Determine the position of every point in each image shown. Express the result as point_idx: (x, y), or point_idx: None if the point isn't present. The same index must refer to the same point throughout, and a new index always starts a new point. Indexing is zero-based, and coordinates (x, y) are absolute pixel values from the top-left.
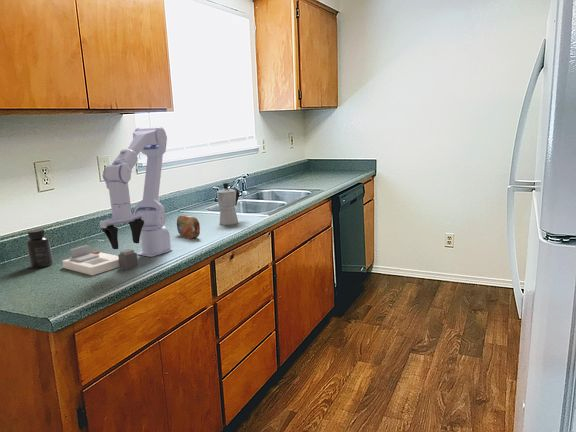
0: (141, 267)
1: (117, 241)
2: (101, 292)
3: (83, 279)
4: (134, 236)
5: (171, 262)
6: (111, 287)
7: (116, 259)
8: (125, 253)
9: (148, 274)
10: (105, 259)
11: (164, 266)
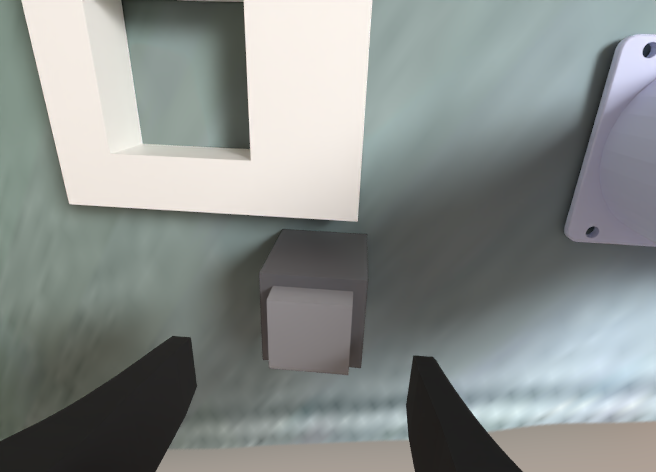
0: None
1: (155, 463)
2: None
3: (41, 204)
4: (424, 433)
5: (495, 418)
6: None
7: (285, 200)
8: (270, 359)
9: (290, 442)
10: (249, 87)
11: None
